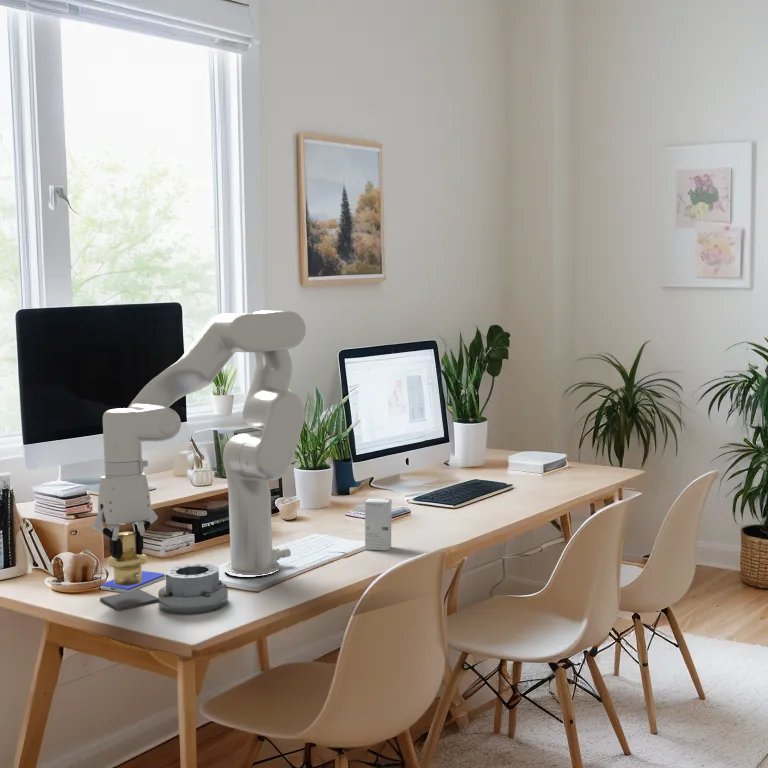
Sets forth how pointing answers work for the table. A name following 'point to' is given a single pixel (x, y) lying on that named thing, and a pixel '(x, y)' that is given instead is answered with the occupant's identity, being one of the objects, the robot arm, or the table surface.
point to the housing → (193, 590)
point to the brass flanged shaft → (127, 561)
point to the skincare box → (378, 524)
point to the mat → (129, 599)
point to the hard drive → (146, 580)
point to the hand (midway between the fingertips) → (127, 555)
